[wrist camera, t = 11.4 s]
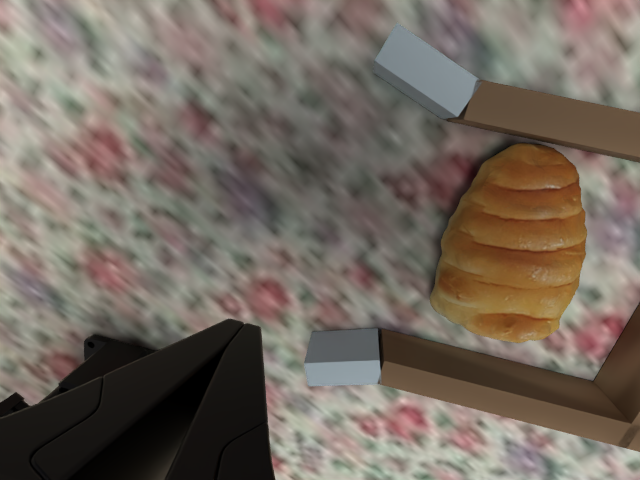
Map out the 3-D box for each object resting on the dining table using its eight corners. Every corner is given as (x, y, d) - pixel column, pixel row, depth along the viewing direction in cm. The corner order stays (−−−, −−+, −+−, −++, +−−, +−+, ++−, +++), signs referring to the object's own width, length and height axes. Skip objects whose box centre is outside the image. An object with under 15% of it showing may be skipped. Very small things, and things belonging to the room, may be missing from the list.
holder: (605, 427, 21) (643, 474, 18) (307, 350, 22) (299, 383, 19) (798, 124, 15) (900, 124, 12) (380, 39, 16) (383, 19, 13)
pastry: (450, 138, 17) (474, 141, 13) (595, 146, 16) (661, 151, 13) (423, 305, 20) (437, 344, 16) (545, 317, 19) (587, 361, 16)
